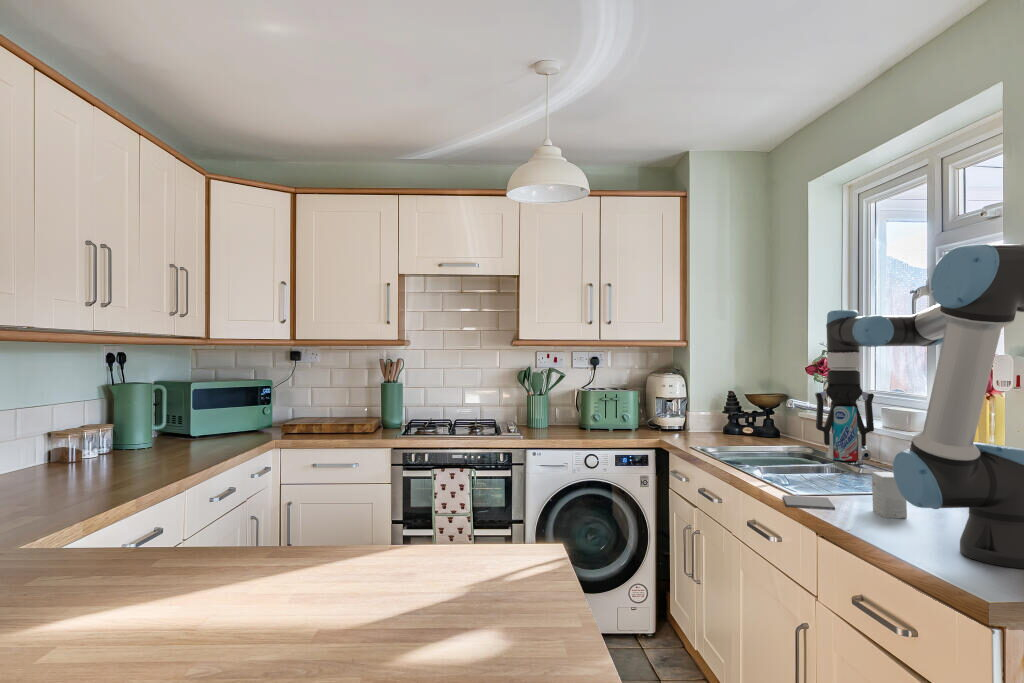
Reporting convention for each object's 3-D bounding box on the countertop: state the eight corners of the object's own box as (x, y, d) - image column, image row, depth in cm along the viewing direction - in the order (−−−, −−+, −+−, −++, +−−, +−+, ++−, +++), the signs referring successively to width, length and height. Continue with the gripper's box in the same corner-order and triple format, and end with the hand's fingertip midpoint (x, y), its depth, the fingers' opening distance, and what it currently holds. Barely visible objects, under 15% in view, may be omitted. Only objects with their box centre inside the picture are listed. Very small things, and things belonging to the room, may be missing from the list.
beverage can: (828, 461, 166) (827, 404, 167) (837, 458, 170) (837, 402, 171) (852, 464, 162) (851, 405, 162) (861, 461, 166) (860, 403, 166)
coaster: (835, 509, 173) (835, 507, 173) (787, 506, 177) (787, 504, 177) (827, 499, 184) (827, 497, 184) (782, 497, 188) (782, 495, 188)
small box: (907, 518, 163) (906, 477, 163) (883, 517, 164) (882, 476, 164) (895, 511, 171) (894, 471, 171) (872, 510, 172) (871, 471, 172)
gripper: (880, 368, 167) (882, 457, 167) (802, 368, 173) (803, 454, 173) (888, 369, 160) (889, 462, 160) (805, 369, 166) (807, 459, 165)
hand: (844, 458), depth 166 cm, fingers closed on beverage can, 6 cm apart
